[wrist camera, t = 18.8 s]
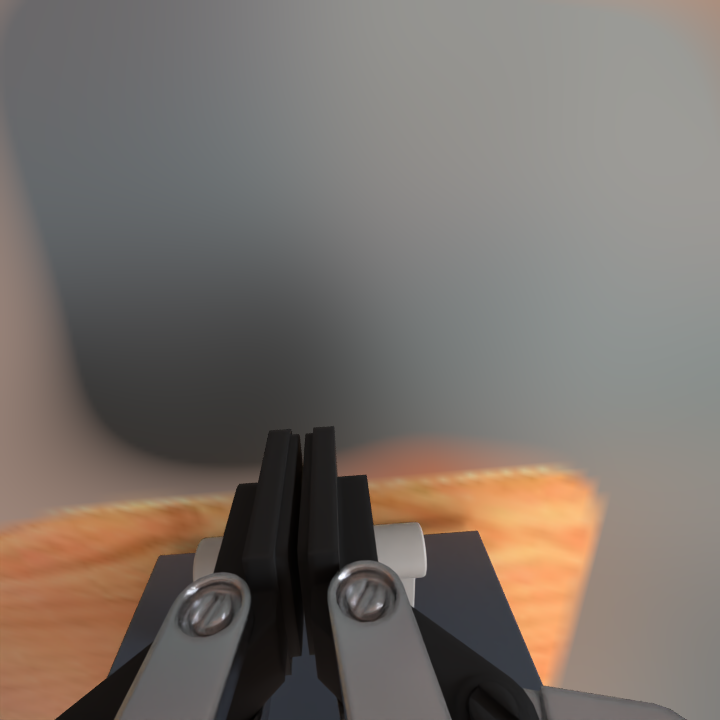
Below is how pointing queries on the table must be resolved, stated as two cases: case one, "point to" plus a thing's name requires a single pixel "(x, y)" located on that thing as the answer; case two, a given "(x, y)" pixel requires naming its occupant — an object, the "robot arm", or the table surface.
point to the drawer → (422, 585)
